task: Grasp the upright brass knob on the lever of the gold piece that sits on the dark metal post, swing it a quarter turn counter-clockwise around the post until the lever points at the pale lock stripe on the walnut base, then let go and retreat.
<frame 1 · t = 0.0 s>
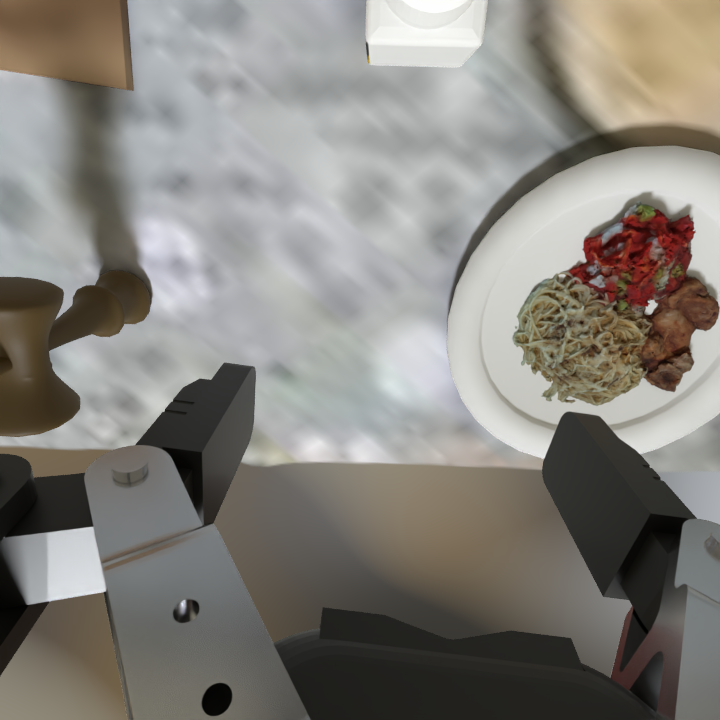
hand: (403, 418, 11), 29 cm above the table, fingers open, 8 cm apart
plated food: (603, 322, 41), on the table
kendama: (128, 295, 41), on the table
medicine bottle: (418, 8, 31), on the table
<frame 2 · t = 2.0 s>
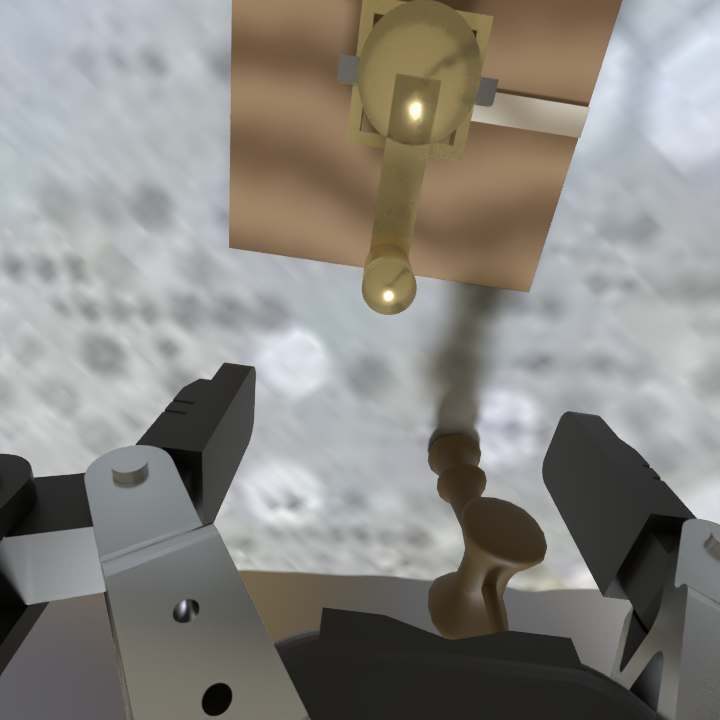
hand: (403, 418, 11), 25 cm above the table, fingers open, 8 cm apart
post base: (408, 96, 30), on the table
kendama: (452, 450, 43), on the table
gold piece: (405, 159, 24), point 9 cm above the table, hinge at 0.0°
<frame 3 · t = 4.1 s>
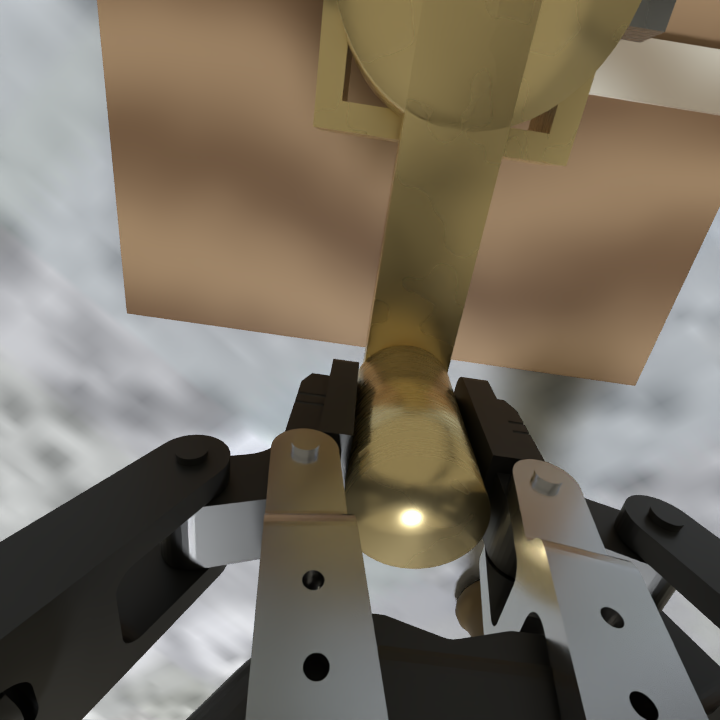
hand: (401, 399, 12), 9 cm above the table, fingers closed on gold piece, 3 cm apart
post base: (438, 45, 16), on the table
kendama: (491, 594, 29), on the table
gold piece: (451, 166, 10), point 9 cm above the table, hinge at 0.0°, touching gripper
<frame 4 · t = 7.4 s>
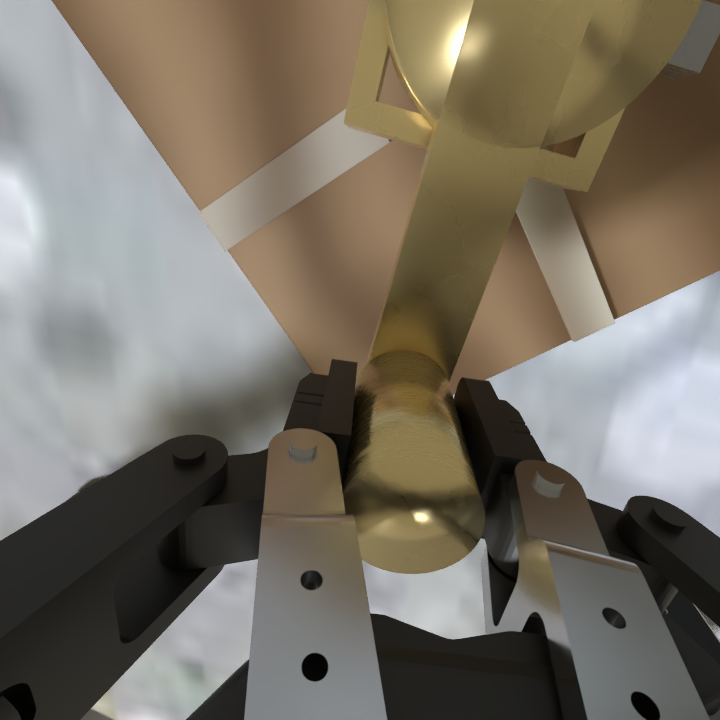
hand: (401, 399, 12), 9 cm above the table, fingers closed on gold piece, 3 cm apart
post base: (471, 58, 16), on the table
gold piece: (479, 178, 10), point 9 cm above the table, hinge at 44.9°, touching gripper
medicine bottle: (630, 612, 28), on the table
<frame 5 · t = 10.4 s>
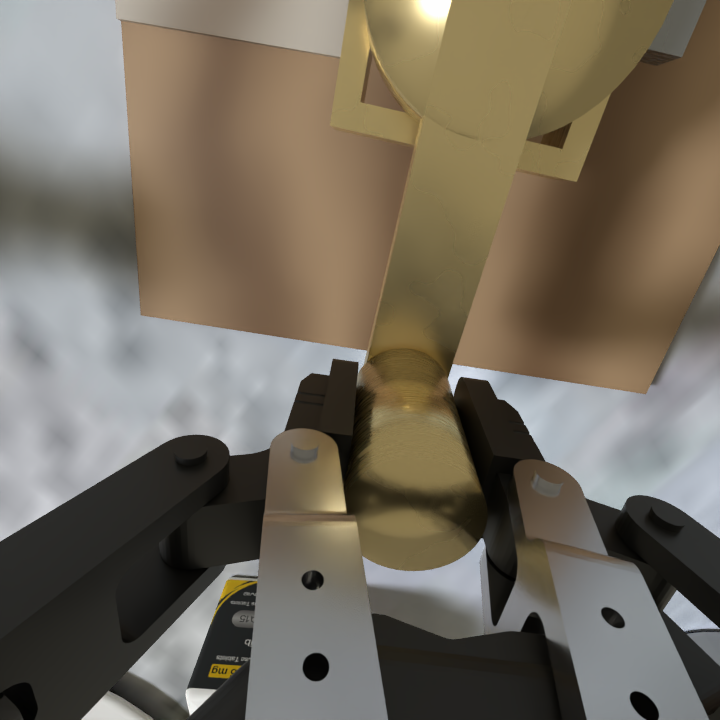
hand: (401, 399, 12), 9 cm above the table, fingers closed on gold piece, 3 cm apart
post base: (455, 54, 16), on the table
gold piece: (466, 174, 10), point 9 cm above the table, hinge at 87.1°, touching gripper
medicine bottle: (283, 610, 30), on the table
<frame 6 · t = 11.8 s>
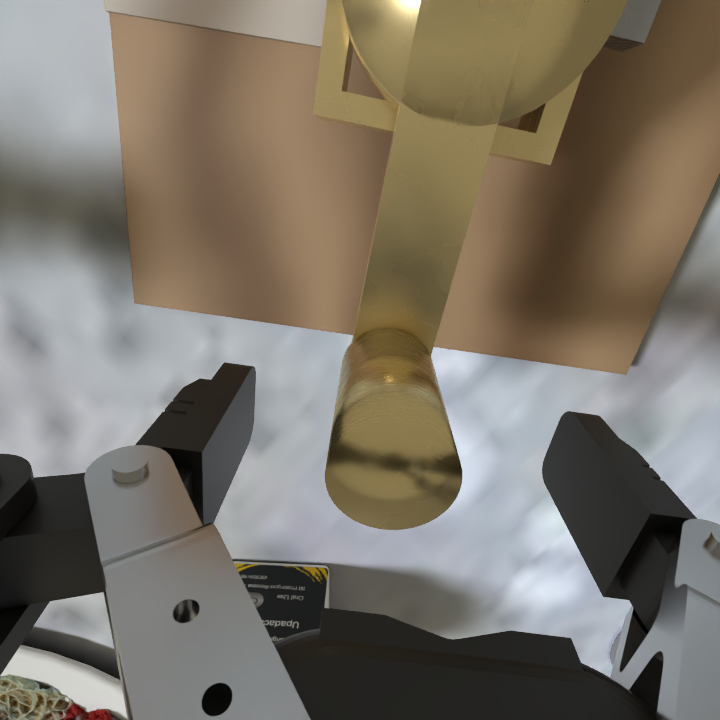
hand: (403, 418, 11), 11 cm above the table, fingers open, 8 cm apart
post base: (437, 44, 17), on the table
gold piece: (441, 157, 10), point 9 cm above the table, hinge at 87.4°
medicine bottle: (280, 593, 31), on the table
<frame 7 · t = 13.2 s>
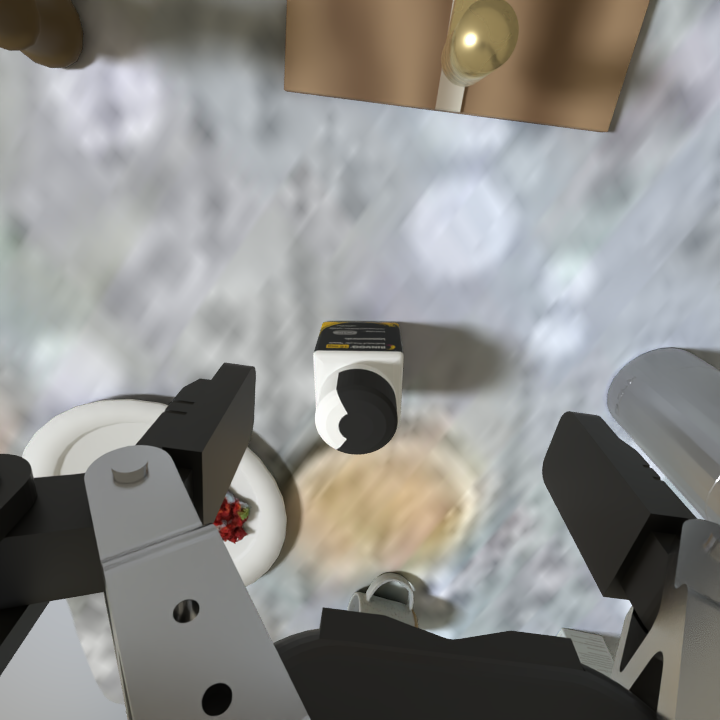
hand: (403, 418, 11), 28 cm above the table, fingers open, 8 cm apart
plated food: (162, 500, 51), on the table
kendama: (53, 29, 31), on the table
ceramic mug: (380, 595, 57), on the table
product box: (571, 642, 60), on the table
medicine bottle: (360, 354, 42), on the table
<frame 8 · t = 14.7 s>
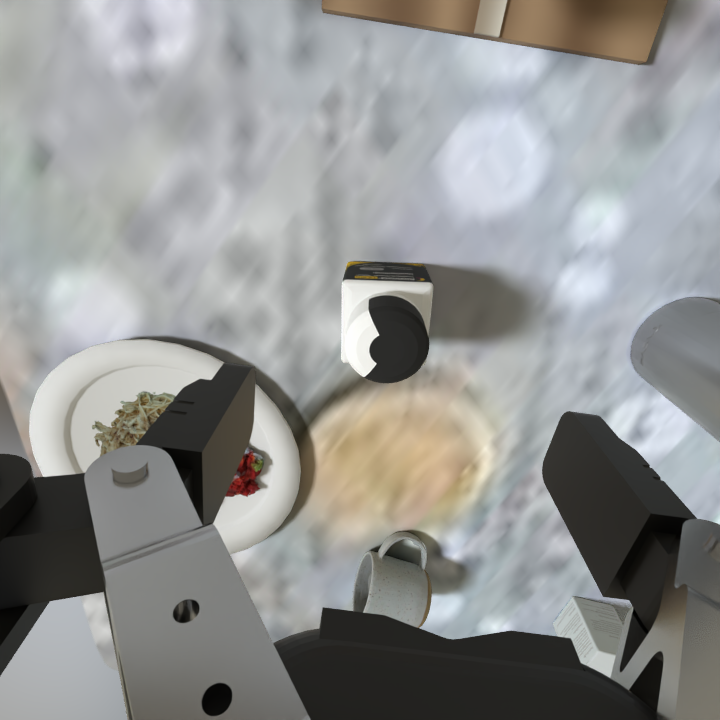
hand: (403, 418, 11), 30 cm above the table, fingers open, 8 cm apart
plated food: (174, 452, 50), on the table
ceramic mug: (392, 556, 56), on the table
product box: (581, 612, 59), on the table
medicine bottle: (383, 298, 41), on the table
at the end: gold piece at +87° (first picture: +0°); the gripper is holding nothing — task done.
